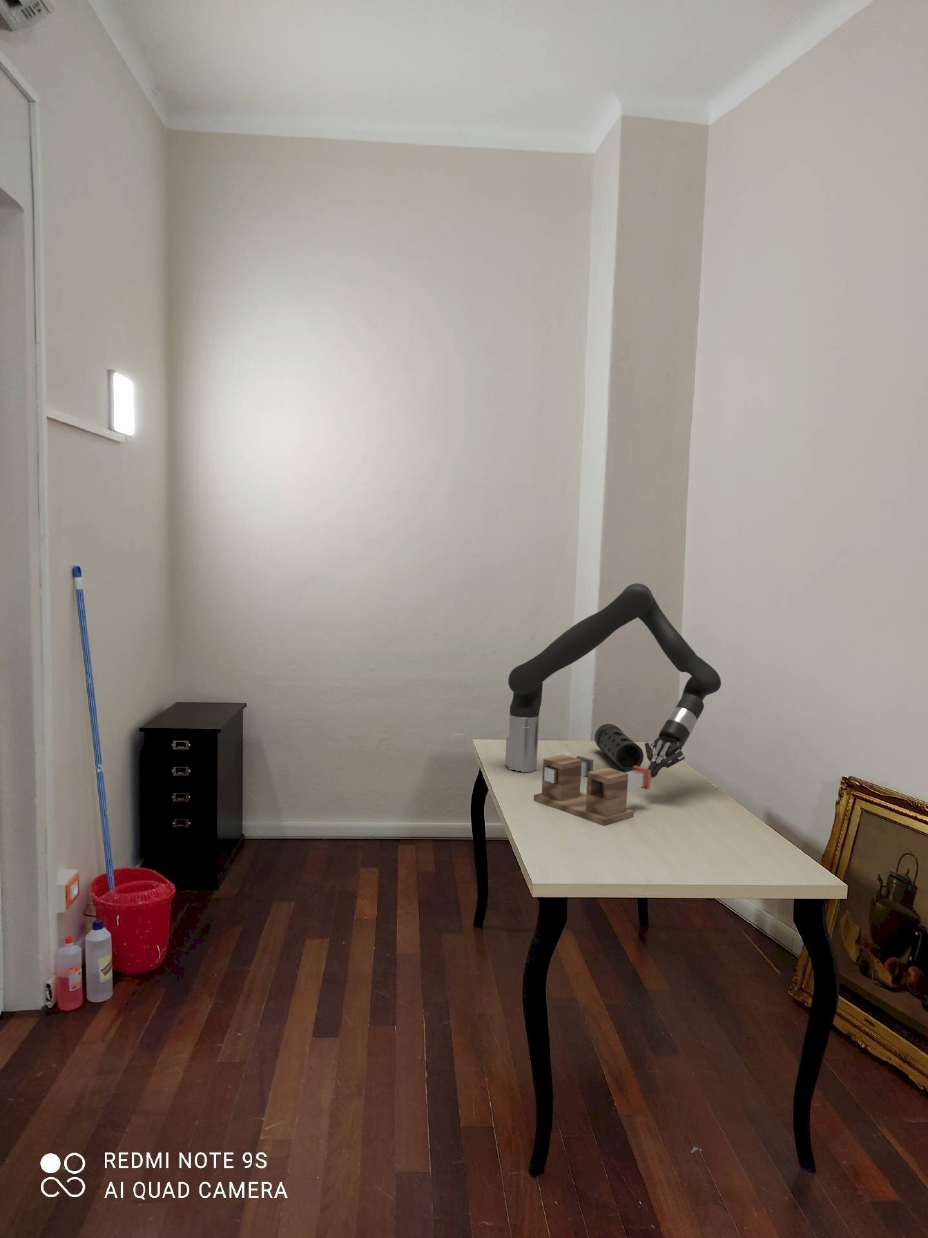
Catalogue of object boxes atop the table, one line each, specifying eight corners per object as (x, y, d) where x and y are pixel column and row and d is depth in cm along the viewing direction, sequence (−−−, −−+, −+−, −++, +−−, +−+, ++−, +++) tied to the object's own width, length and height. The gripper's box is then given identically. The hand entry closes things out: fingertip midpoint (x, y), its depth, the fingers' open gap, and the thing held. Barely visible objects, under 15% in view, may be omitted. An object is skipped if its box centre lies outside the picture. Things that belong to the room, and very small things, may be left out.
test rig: (533, 800, 234) (535, 758, 233) (562, 792, 242) (564, 752, 241) (604, 825, 216) (606, 780, 215) (633, 816, 224) (636, 773, 222)
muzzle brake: (613, 774, 264) (615, 742, 263) (592, 751, 291) (593, 722, 290) (643, 774, 265) (645, 742, 263) (619, 751, 292) (620, 722, 291)
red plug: (599, 793, 224) (600, 774, 224) (634, 784, 234) (635, 765, 234) (614, 798, 221) (615, 779, 220) (649, 788, 231) (651, 770, 230)
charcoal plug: (541, 782, 233) (542, 763, 232) (578, 773, 243) (579, 755, 242) (555, 787, 229) (556, 768, 229) (592, 777, 239) (593, 759, 239)
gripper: (654, 714, 244) (625, 762, 237) (693, 723, 234) (664, 773, 228) (664, 730, 248) (635, 778, 241) (703, 739, 238) (675, 789, 232)
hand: (650, 775), depth 235 cm, fingers closed
